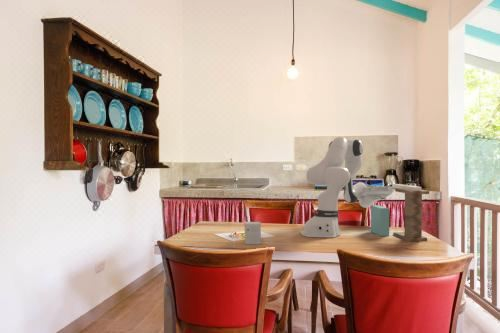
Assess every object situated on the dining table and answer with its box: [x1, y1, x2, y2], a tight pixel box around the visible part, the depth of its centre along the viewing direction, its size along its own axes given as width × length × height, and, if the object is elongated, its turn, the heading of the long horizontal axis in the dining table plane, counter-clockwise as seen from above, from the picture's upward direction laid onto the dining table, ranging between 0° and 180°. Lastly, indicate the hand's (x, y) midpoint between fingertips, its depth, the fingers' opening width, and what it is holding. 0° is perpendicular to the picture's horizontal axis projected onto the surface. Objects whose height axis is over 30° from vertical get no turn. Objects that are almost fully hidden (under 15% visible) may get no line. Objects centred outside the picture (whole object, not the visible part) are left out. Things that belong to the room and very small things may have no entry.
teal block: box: [370, 204, 390, 237], centre depth 189 cm, size 5×12×16 cm, turn 5°
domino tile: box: [391, 183, 422, 191], centre depth 182 cm, size 4×22×2 cm, turn 5°
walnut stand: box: [392, 188, 430, 242], centre depth 177 cm, size 11×16×26 cm
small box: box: [244, 221, 262, 245], centre depth 167 cm, size 8×6×10 cm
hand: (382, 185), depth 208 cm, fingers open, 8 cm apart
